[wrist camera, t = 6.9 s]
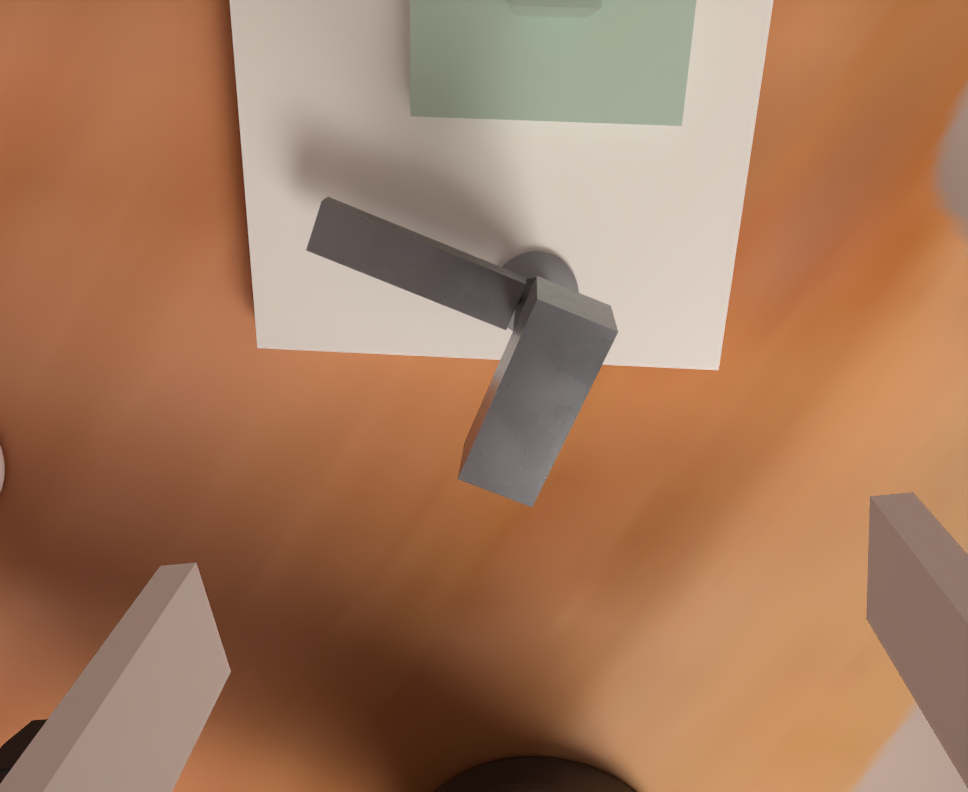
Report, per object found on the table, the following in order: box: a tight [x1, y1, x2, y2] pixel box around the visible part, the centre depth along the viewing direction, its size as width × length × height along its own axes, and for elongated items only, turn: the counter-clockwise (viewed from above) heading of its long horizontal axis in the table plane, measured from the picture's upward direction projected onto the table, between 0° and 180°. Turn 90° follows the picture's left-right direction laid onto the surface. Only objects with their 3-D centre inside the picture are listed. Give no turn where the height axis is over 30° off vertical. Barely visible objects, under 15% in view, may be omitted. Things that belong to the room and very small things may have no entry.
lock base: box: [229, 0, 773, 370], centre depth 32 cm, size 23×20×2 cm
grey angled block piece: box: [306, 197, 618, 507], centre depth 29 cm, size 10×6×12 cm, turn 68°
